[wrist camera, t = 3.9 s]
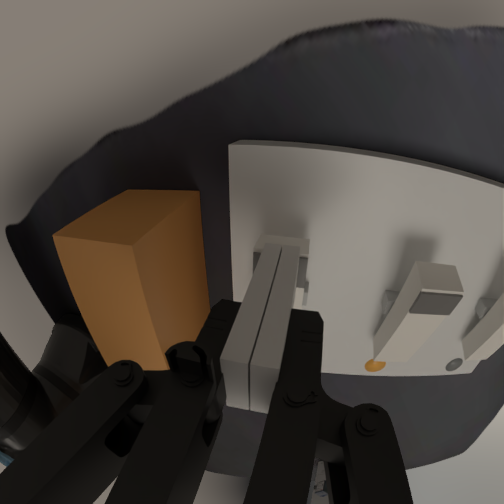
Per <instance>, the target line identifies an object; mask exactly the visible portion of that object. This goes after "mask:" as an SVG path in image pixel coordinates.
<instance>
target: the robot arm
mask: <svg viewBox="0 0 504 504" xmlns="http://www.w3.org/2000/svg"><path fill="white" fill-rule="evenodd" d="M299 256H300V247H299V246H290V245H283V248H282V245H281V244H272V243H265V245H264V248H263V250H262V253H261V255H260V258H259V260H258V263H257V266H256V268H255V271H254V273H253V276H252V278H251V281H250V283H249V286H248V289H247V291H246V294H245V296H244V299H243V301H242V302H236V301H230V300H223V299H222V300H221V301H219V302H218V303H217V304H216V305H214V306H213V307H212V309H211V311H210V313H209V315H208V317H207V319H206V321H205V323H204V325H203V327H202V329H201V331H200V332H199V334H198V336H197V338H196V340H195V342H194V341H184V342H179V343H177V344H175V345H173V346H171V347H170V348H169V349H168V350H167V351H166V352H165V353H164V354H165V356H166V359H167V362H168V365H169V367H170V369H169V370H143V369H142V367H141V366H140V365H139V364H138V363H137V362H134V361H132V360H120V361H117V362H115V363H113V364H112V365H110V366H109V367H108V366H107V364H106V362H105V360H104V358H103V357H102V355H101V353H100V351H99V349H98V347H97V345H96V343H95V342H94V340H93V338H92V336H91V334H90V332H89V329H88V327H87V325H86V323H85V321H84V319H83V317H81V316H78V315H75V314H65V315H63V316H62V317H61V318H60V320H59V321H58V322H57V323H56V324H55V325H54V327H53V330H52V335H51V337H50V339H49V341H48V343H47V345H46V348H45V350H44V353H43V355H42V358H41V360H40V362H39V363H38V364H37V366H36V367H35V368H34V369H33V371H32V372H30V370H29V369H28V368H27V367H26V365H25V364H24V363H23V362H22V360H21V359H20V358H19V357H18V355H17V354H16V353H15V352H14V350H13V349H12V348H11V346H10V345H9V344H8V342H7V341H6V340H5V338H4V337H3V336H2V334H1V332H0V462H1V463H2V464H3V465H5V466H6V469H4V471H3V472H2V473H1V474H0V504H93V502H94V501H95V500H96V499H97V498H98V497H99V496H100V495H101V494H102V493H103V492H104V490H105V489H106V488H107V487H108V486H109V485H110V484H111V483H112V482H113V481H114V480H115V478H116V477H117V476H118V477H117V479H116V482H115V483H114V486H113V487H112V489H111V492H110V494H109V496H108V498H107V500H106V502H105V504H193V502H194V499H195V496H196V494H197V491H198V488H199V485H200V482H201V480H202V477H203V474H204V471H205V468H206V466H207V463H208V460H209V457H210V454H211V451H212V448H213V446H214V443H215V440H216V437H217V434H218V431H219V428H220V425H221V422H222V416H223V413H222V409H223V406H224V403H225V401H226V404H227V406H231V407H236V408H241V409H246V410H249V407H250V410H251V411H257V412H263V413H268V415H267V419H266V423H265V427H264V431H263V435H262V439H261V443H260V446H259V450H258V454H257V458H256V461H255V465H254V468H253V472H252V476H251V479H250V483H249V486H248V489H247V493H246V496H245V499H244V503H243V504H306V503H307V498H308V493H309V487H310V482H311V476H312V470H313V464H314V458H315V457H316V458H319V459H321V460H323V462H324V469H325V476H326V483H327V491H328V498H329V504H413V500H412V496H411V491H410V487H409V483H408V479H407V475H406V471H405V467H404V463H403V459H402V456H401V452H400V448H399V445H398V441H397V438H396V435H395V431H394V428H393V425H392V422H391V418H390V417H389V415H388V413H387V411H385V410H384V409H383V408H382V407H380V406H378V405H375V404H372V403H369V404H361V405H358V406H355V407H354V408H352V407H350V406H347V405H344V404H342V403H339V402H337V401H335V400H333V399H331V398H330V397H329V396H328V395H327V394H326V393H325V391H324V390H323V388H322V385H321V367H322V351H323V330H324V321H323V319H322V317H321V315H320V313H319V312H318V311H309V310H301V309H293V306H294V300H295V293H296V284H297V275H298V266H299Z"/></svg>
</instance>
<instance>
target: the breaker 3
mask: <svg viewBox="0 0 504 504" xmlns="http://www.w3.org/2000/svg"><path fill="white" fill-rule="evenodd" d="M503 344H504V293H503V294H502V295H501V296H500V298H499V299H498V300H497V302H496V303H495V304H494V305H493V307H492V308H491V309H490V310H489V311H488V313H487V314H486V315H485V316H484V317H483V318H482V320H481V321H480V322H479V323H478V324H477V325H476V326H475V327H474V328H473V330H472V331H471V332H470V333H469V334H468V335H467V336H466V337H465V338H464V339H463V340H462V346H463V352H464V359H465V361H469V360H482V359H487V358H488V357H490V356H491V355H492V354H493V353H494V352H495V351H496V350H497V349H499V348H500V347H501V346H502V345H503Z"/></svg>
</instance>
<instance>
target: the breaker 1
mask: <svg viewBox="0 0 504 504" xmlns="http://www.w3.org/2000/svg"><path fill="white" fill-rule="evenodd" d="M265 243H272V244H281V245H282V248H283V245H290V246H299V247H300V256H299V266H298V275H297V284H296V293H295V300H294V306H293V309H301V308H302V301H303V294H304V288H305V280H306V272H307V264H308V256H309V243H310V239H303V238H294V237H284V236H274V235H265V234H261V235H260V237H259V239H258V241H257V243H256V245H255V247H254V252H253V273H254V271H255V268H256V266H257V263H258V260H259V258H260V255H261V253H262V250H263V248H264V245H265Z"/></svg>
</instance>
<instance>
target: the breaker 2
mask: <svg viewBox="0 0 504 504" xmlns="http://www.w3.org/2000/svg"><path fill="white" fill-rule="evenodd" d="M463 293H464V290H463V287H462V284H461V281H460V278H459V275H458V272H457V269H456V266H454V265H446V264H438V263H430V262H422V261H416V262H415V264H414V266H413V268H412V270H411V272H410V274H409V276H408V278H407V280H406V282H405V284H404V286H403V288H402V290H401V291H400V293H399V295H398V297H397V299H396V301H395V303H394V304H393V306H392V308H391V310H390V311H389V313H388V315H387V317H386V318H385V320H384V322H383V323H382V325H381V327H380V328H379V330H378V332H377V333H376V335H375V336H374V338H373V361H382V362H407V361H408V360H409V359H410V358H411V357H412V356H413V355H414V353H415V352H416V351H417V350H418V349H419V348H420V347H421V346H422V345H423V344H424V342H425V341H426V340H427V339H428V338H429V337H430V336H431V334H432V333H433V332H434V331H435V330H436V328H437V327H438V326H439V325H440V324H441V322H442V321H443V320H444V319H445V317H446V316H447V315H450V314H451V313H452V311H453V310H454V309H455V307H456V306H457V305H458V303H459V302H460V301H461V299H462V298H463Z"/></svg>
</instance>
